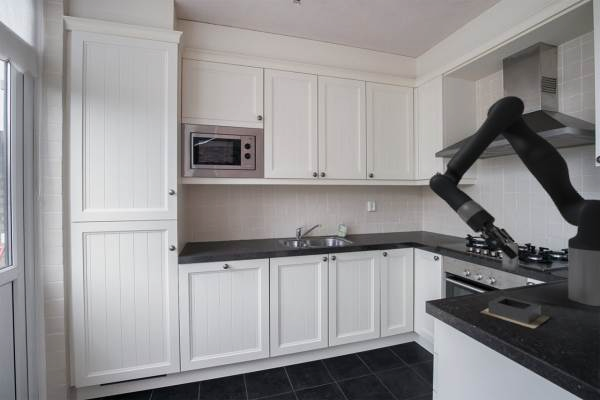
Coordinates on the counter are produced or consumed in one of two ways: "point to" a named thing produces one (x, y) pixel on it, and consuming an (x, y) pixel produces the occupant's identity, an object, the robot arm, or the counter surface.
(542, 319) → the board
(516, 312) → the sleeve
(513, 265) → the cylinder
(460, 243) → the counter surface
